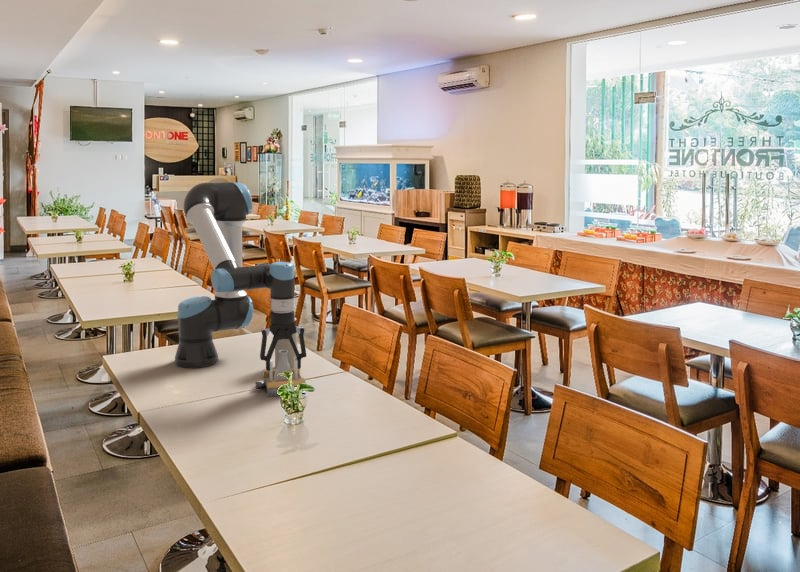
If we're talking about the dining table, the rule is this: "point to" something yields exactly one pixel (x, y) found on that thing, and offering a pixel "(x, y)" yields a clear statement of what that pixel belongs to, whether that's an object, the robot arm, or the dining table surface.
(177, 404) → the dining table surface
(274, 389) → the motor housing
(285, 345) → the travel mug
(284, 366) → the flask
